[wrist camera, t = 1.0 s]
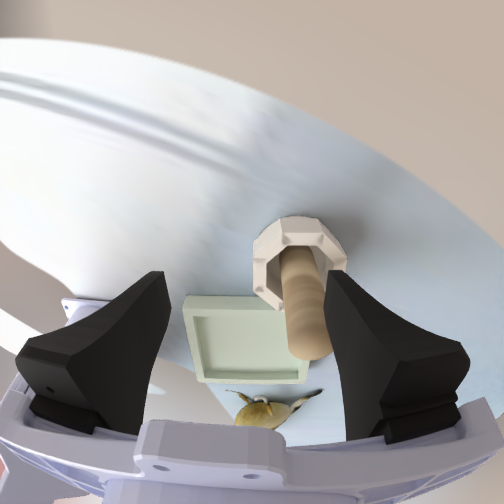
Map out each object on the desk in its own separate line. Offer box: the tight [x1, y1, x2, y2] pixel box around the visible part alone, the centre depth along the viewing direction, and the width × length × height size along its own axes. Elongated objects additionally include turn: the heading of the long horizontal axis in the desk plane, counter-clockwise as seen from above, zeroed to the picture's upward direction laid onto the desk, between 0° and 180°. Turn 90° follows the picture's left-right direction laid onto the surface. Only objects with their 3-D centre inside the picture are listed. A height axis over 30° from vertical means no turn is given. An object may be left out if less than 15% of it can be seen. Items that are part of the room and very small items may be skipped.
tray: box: [182, 295, 310, 384], centre depth 26 cm, size 10×11×2 cm
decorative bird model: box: [224, 390, 322, 430], centre depth 31 cm, size 4×13×10 cm
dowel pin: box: [279, 245, 333, 360], centre depth 18 cm, size 3×3×9 cm
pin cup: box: [253, 216, 348, 312], centre depth 21 cm, size 6×6×3 cm
